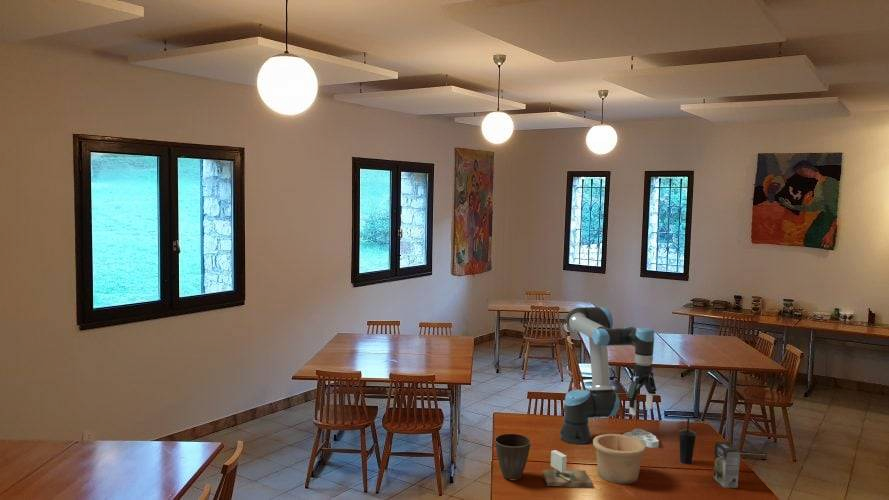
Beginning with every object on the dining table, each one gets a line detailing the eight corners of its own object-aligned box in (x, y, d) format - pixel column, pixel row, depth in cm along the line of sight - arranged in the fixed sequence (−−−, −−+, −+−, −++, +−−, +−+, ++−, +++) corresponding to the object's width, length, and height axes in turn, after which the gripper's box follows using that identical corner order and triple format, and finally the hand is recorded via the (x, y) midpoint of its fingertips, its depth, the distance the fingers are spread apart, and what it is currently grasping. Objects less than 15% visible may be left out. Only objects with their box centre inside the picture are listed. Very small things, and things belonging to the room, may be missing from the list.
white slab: (567, 481, 264) (568, 460, 264) (550, 471, 273) (551, 451, 273) (571, 480, 266) (572, 459, 265) (554, 470, 275) (555, 450, 274)
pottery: (587, 464, 289) (588, 432, 288) (637, 465, 288) (638, 434, 287) (597, 485, 267) (598, 451, 266) (650, 487, 266) (652, 453, 265)
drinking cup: (696, 466, 289) (698, 422, 287) (678, 464, 291) (680, 421, 289) (693, 459, 297) (695, 417, 295) (675, 457, 298) (678, 415, 296)
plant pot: (506, 487, 263) (507, 449, 262) (487, 473, 276) (488, 436, 275) (536, 480, 270) (537, 443, 269) (516, 467, 283) (517, 431, 282)
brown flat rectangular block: (547, 486, 265) (547, 481, 265) (542, 474, 277) (542, 469, 277) (591, 487, 265) (591, 482, 265) (584, 475, 277) (584, 470, 277)
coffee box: (712, 478, 277) (714, 441, 276) (727, 478, 277) (729, 441, 276) (723, 488, 268) (725, 450, 266) (738, 487, 268) (740, 449, 267)
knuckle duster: (619, 436, 325) (646, 434, 328) (637, 449, 308) (665, 448, 311) (620, 429, 325) (646, 427, 328) (638, 443, 307) (666, 441, 311)
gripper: (635, 370, 270) (633, 419, 272) (666, 360, 287) (663, 407, 289) (619, 366, 276) (617, 414, 278) (650, 357, 293) (648, 403, 295)
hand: (640, 411), depth 284 cm, fingers open, 13 cm apart
